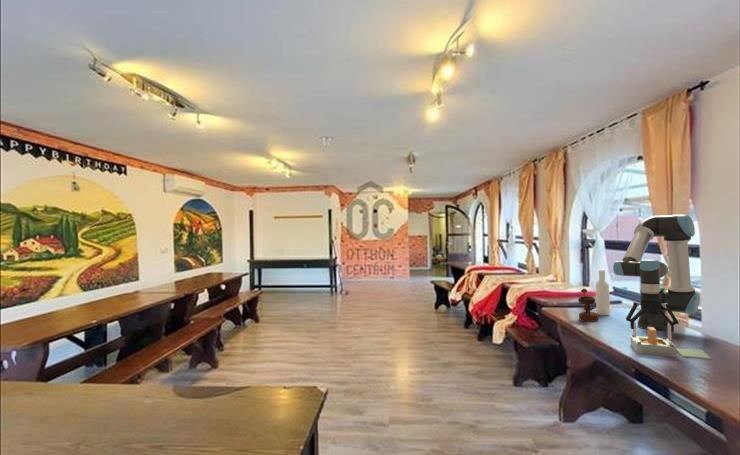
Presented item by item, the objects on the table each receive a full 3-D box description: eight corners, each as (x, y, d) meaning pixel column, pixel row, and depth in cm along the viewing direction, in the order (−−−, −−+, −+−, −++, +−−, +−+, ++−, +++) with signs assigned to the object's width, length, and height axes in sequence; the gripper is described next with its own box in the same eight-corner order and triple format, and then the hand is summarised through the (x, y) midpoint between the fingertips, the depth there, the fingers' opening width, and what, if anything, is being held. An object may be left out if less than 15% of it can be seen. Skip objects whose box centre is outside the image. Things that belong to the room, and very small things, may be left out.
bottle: (612, 315, 258) (610, 270, 258) (599, 315, 259) (597, 270, 259) (607, 313, 265) (605, 269, 266) (594, 313, 267) (593, 269, 267)
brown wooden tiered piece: (574, 317, 256) (573, 286, 256) (592, 317, 255) (591, 286, 255) (585, 323, 241) (583, 290, 241) (603, 323, 239) (602, 290, 240)
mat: (675, 349, 186) (675, 347, 186) (701, 351, 182) (701, 350, 182) (682, 356, 175) (682, 355, 175) (711, 359, 171) (711, 357, 171)
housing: (630, 344, 195) (630, 334, 195) (667, 347, 188) (667, 337, 188) (636, 353, 181) (636, 342, 181) (676, 357, 175) (676, 345, 175)
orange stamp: (640, 347, 190) (639, 325, 190) (660, 349, 187) (659, 327, 187) (644, 352, 183) (643, 329, 183) (665, 354, 179) (664, 331, 180)
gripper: (620, 292, 187) (622, 337, 187) (685, 294, 176) (687, 341, 176) (618, 290, 194) (619, 333, 194) (680, 292, 183) (682, 337, 183)
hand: (652, 337), depth 185 cm, fingers open, 13 cm apart
